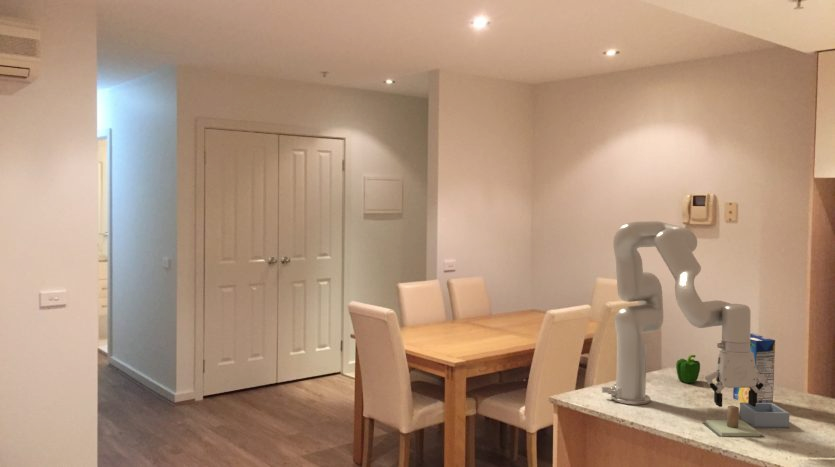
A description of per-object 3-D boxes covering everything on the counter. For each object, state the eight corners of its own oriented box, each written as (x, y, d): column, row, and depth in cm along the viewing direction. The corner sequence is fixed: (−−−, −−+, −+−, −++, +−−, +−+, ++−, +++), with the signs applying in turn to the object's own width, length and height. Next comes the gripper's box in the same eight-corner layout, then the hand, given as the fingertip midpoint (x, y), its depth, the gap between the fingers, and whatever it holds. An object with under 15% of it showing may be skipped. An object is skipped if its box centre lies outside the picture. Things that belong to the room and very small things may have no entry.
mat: (718, 438, 198) (718, 436, 198) (701, 424, 210) (701, 422, 210) (764, 439, 198) (764, 437, 198) (745, 425, 210) (745, 423, 210)
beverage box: (754, 407, 227) (756, 340, 226) (732, 398, 238) (735, 334, 237) (772, 406, 228) (775, 340, 227) (750, 397, 239) (753, 333, 238)
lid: (721, 436, 199) (722, 413, 198) (705, 423, 210) (706, 401, 209) (760, 436, 199) (761, 413, 198) (742, 423, 210) (743, 401, 209)
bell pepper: (678, 384, 255) (679, 357, 254) (673, 378, 263) (674, 352, 262) (702, 385, 253) (703, 358, 253) (697, 379, 262) (698, 353, 261)
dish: (754, 429, 206) (755, 412, 206) (739, 418, 216) (740, 402, 216) (788, 429, 206) (789, 413, 206) (771, 418, 216) (772, 402, 216)
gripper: (711, 349, 199) (710, 409, 200) (772, 349, 199) (771, 409, 199) (700, 344, 206) (700, 402, 207) (759, 344, 206) (759, 401, 207)
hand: (735, 405), depth 203 cm, fingers open, 9 cm apart
